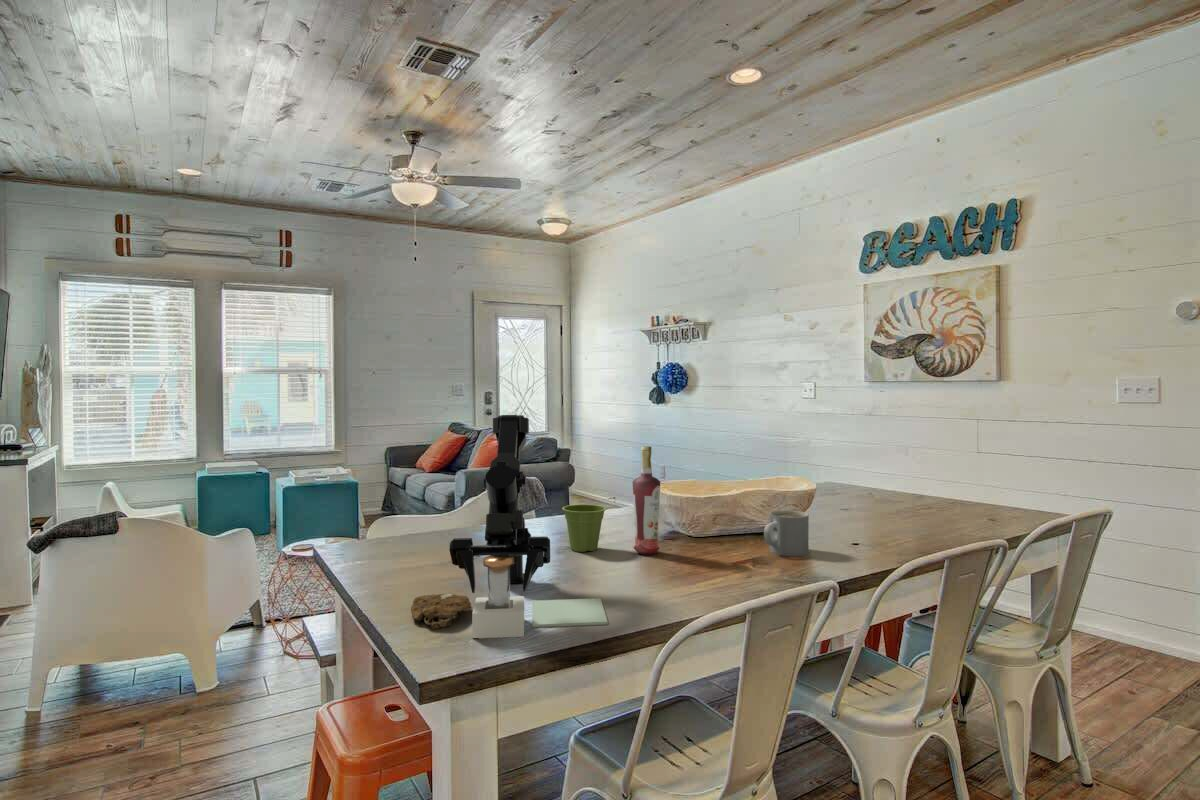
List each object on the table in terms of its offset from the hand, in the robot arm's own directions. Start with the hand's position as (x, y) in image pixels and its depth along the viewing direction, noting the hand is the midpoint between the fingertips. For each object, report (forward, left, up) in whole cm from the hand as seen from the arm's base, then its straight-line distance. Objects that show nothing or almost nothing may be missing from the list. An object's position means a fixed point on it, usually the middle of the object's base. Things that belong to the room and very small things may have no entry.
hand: (498, 591), depth 126 cm
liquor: (-53, +36, -7) cm, 64 cm away
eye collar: (-1, 0, -7) cm, 7 cm away
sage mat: (-8, +13, -7) cm, 17 cm away
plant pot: (-59, +20, -7) cm, 63 cm away
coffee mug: (-50, +72, -7) cm, 88 cm away
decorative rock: (-9, -11, -8) cm, 16 cm away
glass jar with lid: (-1, 0, -7) cm, 7 cm away
